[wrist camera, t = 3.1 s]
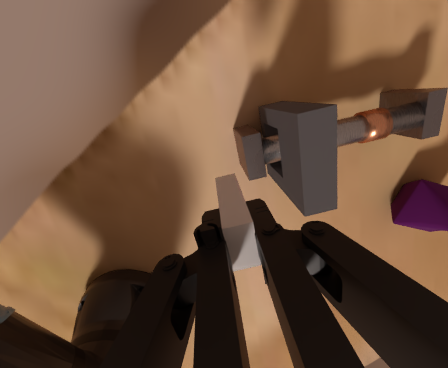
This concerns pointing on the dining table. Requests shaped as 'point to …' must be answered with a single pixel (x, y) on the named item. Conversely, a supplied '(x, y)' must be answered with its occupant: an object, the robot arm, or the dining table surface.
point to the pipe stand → (356, 126)
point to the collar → (304, 152)
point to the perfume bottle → (421, 206)
